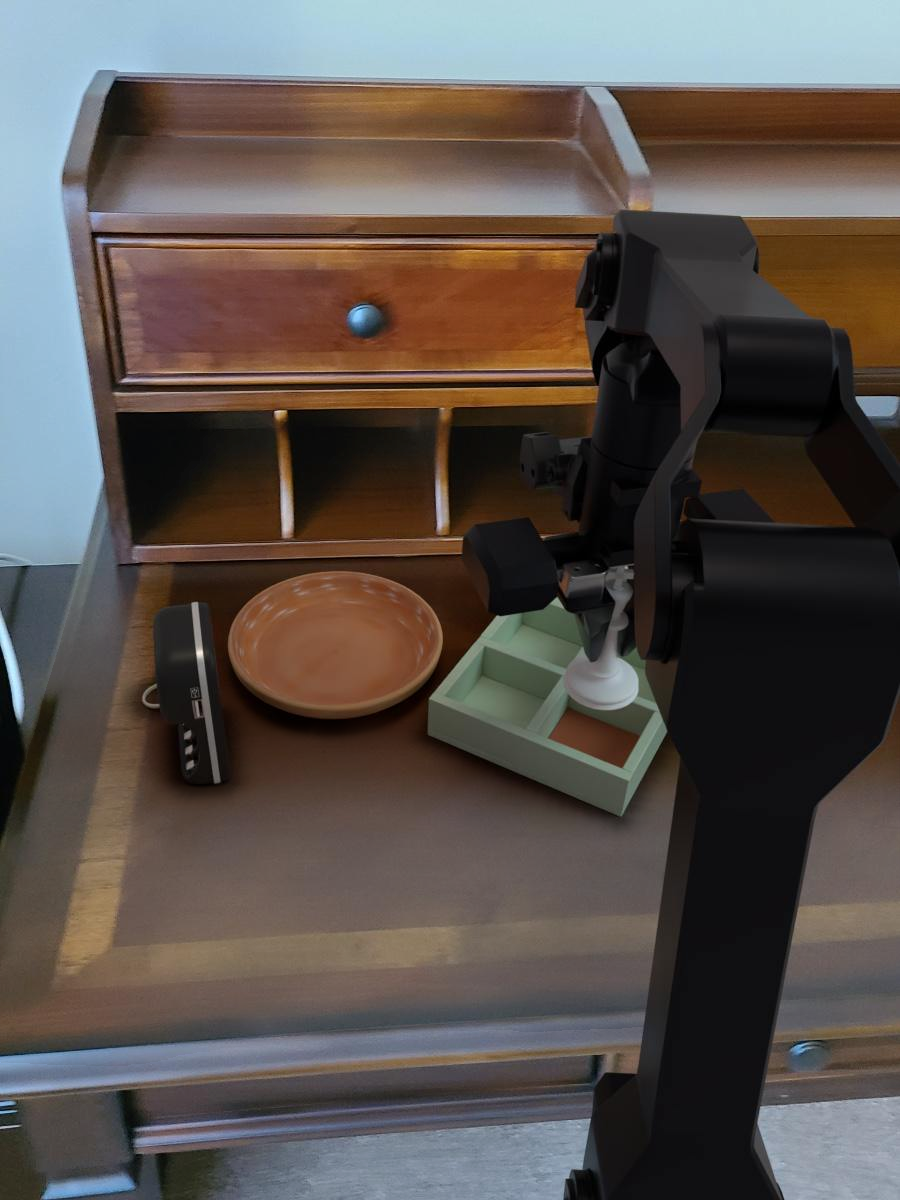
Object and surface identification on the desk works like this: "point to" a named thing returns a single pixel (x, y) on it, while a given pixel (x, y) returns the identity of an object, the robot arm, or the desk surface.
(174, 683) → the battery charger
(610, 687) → the chess piece
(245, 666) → the saucer
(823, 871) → the desk surface
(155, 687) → the ring
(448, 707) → the compartment tray
